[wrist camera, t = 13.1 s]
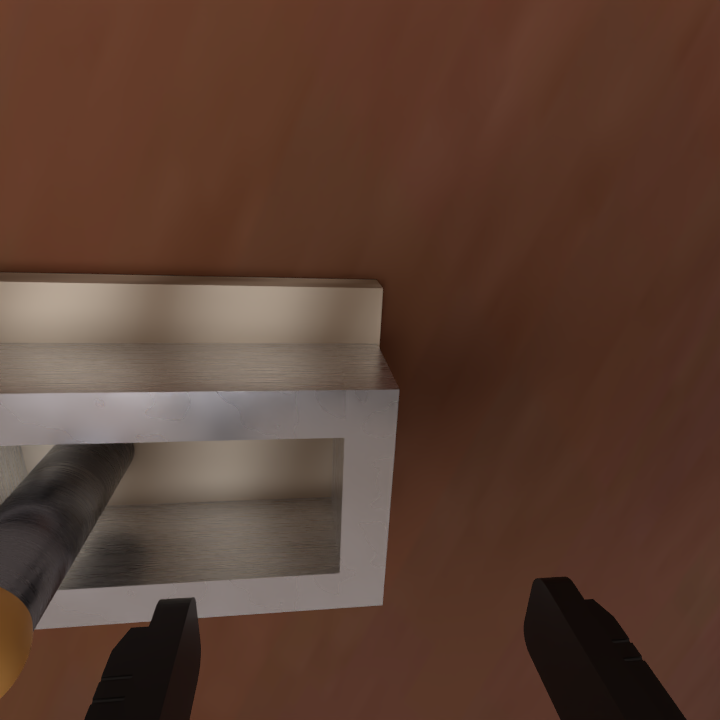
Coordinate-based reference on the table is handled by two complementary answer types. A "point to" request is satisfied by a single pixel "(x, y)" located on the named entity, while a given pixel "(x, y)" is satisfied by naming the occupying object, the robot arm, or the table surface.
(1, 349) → the steel link
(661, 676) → the table surface
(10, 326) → the beige plate with rod
